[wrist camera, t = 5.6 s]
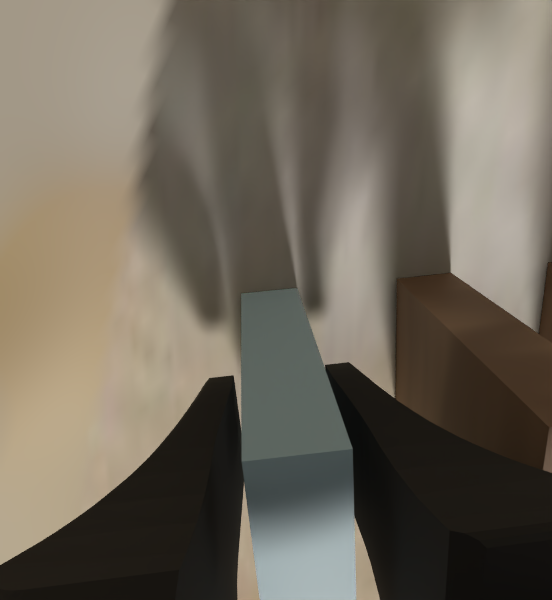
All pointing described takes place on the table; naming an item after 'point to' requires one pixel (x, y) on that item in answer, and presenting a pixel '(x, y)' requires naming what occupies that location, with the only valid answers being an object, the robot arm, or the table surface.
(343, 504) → the teal domino
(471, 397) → the domino
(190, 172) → the table surface
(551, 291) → the domino
